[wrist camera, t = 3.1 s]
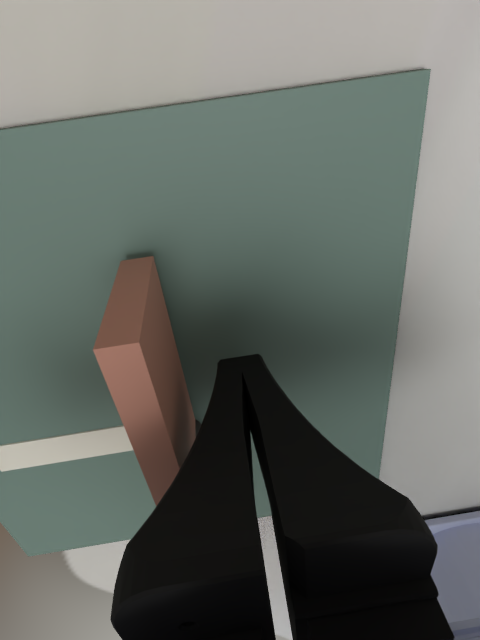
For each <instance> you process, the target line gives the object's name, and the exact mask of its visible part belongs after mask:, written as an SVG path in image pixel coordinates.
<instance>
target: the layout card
mask: <svg viewBox="0 0 480 640" xmlns="http://www.w3.org/2000/svg"><path fill="white" fill-rule="evenodd" d="M430 70H431V69H420V70H413V71H405V72H398V73H391V74H384V75H377V76H370V77H363V78H356V79H349V80H342V81H335V82H328V83H321V84H314V85H307V86H300V87H293V88H286V89H279V90H271V91H264V92H257V93H250V94H243V95H236V96H229V97H222V98H215V99H208V100H201V101H194V102H187V103H180V104H173V105H166V106H159V107H152V108H145V109H137V110H130V111H123V112H116V113H109V114H102V115H95V116H88V117H81V118H74V119H67V120H60V121H53V122H46V123H39V124H32V125H25V126H18V127H11V128H3V129H0V522H1V523H2V525H3V526H4V527H5V528H6V530H7V531H8V532H9V533H10V534H11V535H12V537H13V538H14V539H15V540H16V542H17V543H18V544H19V545H20V547H21V548H22V549H23V550H24V552H25V553H26V554H27V555H28V556H34V555H40V554H46V553H51V552H58V551H64V550H70V549H76V548H82V547H87V546H93V545H99V544H105V543H111V542H117V541H123V540H129V539H132V538H133V536H134V535H135V534H136V533H137V531H138V530H139V529H140V528H141V526H142V525H143V524H144V522H145V521H146V520H147V519H148V517H149V516H150V515H151V513H152V512H153V510H154V509H155V508H156V505H155V502H154V500H153V497H152V495H151V492H150V490H149V487H148V485H147V482H146V480H145V477H144V475H143V472H142V470H141V467H140V465H139V462H138V460H137V458H136V455H135V453H134V450H133V448H132V445H131V443H130V440H129V438H128V435H127V433H126V430H125V428H124V425H123V423H122V420H121V418H120V415H119V413H118V411H117V408H116V406H115V403H114V401H113V398H112V396H111V393H110V391H109V388H108V386H107V383H106V381H105V378H104V376H103V373H102V371H101V368H100V366H99V364H98V361H97V359H96V356H95V354H94V351H93V348H94V345H95V341H96V338H97V335H98V332H99V329H100V325H101V322H102V319H103V316H104V313H105V310H106V306H107V303H108V300H109V297H110V294H111V290H112V287H113V284H114V281H115V278H116V275H117V271H118V268H119V265H120V262H121V261H123V260H130V259H137V258H143V257H150V256H153V257H154V261H155V265H156V268H157V272H158V276H159V280H160V284H161V288H162V292H163V296H164V300H165V304H166V308H167V311H168V315H169V319H170V323H171V327H172V331H173V335H174V339H175V343H176V347H177V350H178V354H179V358H180V362H181V366H182V370H183V374H184V378H185V382H186V386H187V390H188V393H189V397H190V401H191V405H192V409H193V413H194V417H195V419H196V420H198V421H199V422H200V423H201V424H202V421H203V419H204V416H205V414H206V411H207V408H208V405H209V402H210V398H211V395H212V392H213V388H214V384H215V379H216V374H217V363H218V362H219V361H220V360H221V359H227V358H234V357H240V356H246V355H253V354H259V355H261V356H262V358H263V360H264V362H265V364H266V366H267V368H268V369H269V371H270V373H271V374H272V376H273V377H274V379H275V380H276V382H277V383H278V385H279V386H280V387H281V389H282V390H283V391H284V393H285V394H286V395H287V397H288V398H289V399H290V400H291V402H292V403H293V404H294V405H295V407H296V408H297V409H298V410H299V411H300V412H301V413H302V414H303V416H304V417H305V418H306V419H307V420H308V421H309V422H310V423H311V424H312V425H313V426H314V427H315V428H316V429H317V430H318V431H319V432H320V433H321V434H322V435H323V436H324V437H325V438H326V439H328V440H329V441H330V442H331V443H332V444H333V445H334V446H335V447H336V448H338V449H339V450H340V451H341V452H343V453H344V454H345V455H346V456H348V457H349V458H350V459H351V460H353V461H354V462H355V463H357V464H358V465H359V466H360V467H362V468H363V469H365V470H366V471H367V472H369V473H370V474H372V475H373V476H374V477H376V478H377V479H379V472H380V464H381V456H382V449H383V441H384V433H385V425H386V417H387V409H388V401H389V393H390V386H391V378H392V370H393V362H394V354H395V346H396V338H397V330H398V322H399V315H400V307H401V299H402V291H403V283H404V275H405V267H406V259H407V252H408V244H409V236H410V228H411V220H412V212H413V204H414V196H415V189H416V181H417V173H418V165H419V157H420V149H421V141H422V133H423V126H424V118H425V110H426V102H427V94H428V86H429V78H430ZM250 432H251V431H250ZM251 447H252V464H253V480H254V495H255V505H256V513H257V518H260V517H266V516H272V514H271V508H270V503H269V499H268V495H267V490H266V487H265V483H264V479H263V476H262V472H261V468H260V464H259V461H258V457H257V453H256V449H255V446H254V442H253V438H252V434H251Z"/></svg>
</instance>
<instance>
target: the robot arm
mask: <svg viewBox="0 0 480 640" xmlns="http://www.w3.org/2000/svg"><path fill="white" fill-rule="evenodd" d="M250 431H251V432H250ZM251 434H252V438H253V442H254V446H255V449H256V453H257V457H258V461H259V464H260V468H261V472H262V476H263V479H264V483H265V487H266V490H267V495H268V499H269V503H270V508H271V514H272V520H273V526H274V531H275V537H276V543H277V549H278V554H279V560H280V566H281V572H282V578H283V584H284V589H285V595H286V601H287V607H288V613H289V619H290V625H291V631H292V637H293V640H480V511H475V512H469V513H463V514H457V515H452V516H446V517H440V518H434V519H428V520H424V519H423V518H422V516H421V515H420V513H419V512H418V510H417V509H416V508H415V506H414V505H413V504H412V502H411V501H410V500H409V498H407V497H406V496H404V495H402V494H401V493H399V492H397V491H396V490H394V489H392V488H391V487H389V486H388V485H386V484H385V483H383V482H382V481H380V480H379V479H377V478H376V477H374V476H373V475H372V474H370V473H369V472H367V471H366V470H365V469H363V468H362V467H360V466H359V465H358V464H357V463H355V462H354V461H353V460H351V459H350V458H349V457H348V456H346V455H345V454H344V453H343V452H341V451H340V450H339V449H338V448H336V447H335V446H334V445H333V444H332V443H331V442H330V441H329V440H328V439H326V438H325V437H324V436H323V435H322V434H321V433H320V432H319V431H318V430H317V429H316V428H315V427H314V426H313V425H312V424H311V423H310V422H309V421H308V420H307V419H306V418H305V417H304V416H303V414H302V413H301V412H300V411H299V410H298V409H297V408H296V407H295V405H294V404H293V403H292V402H291V400H290V399H289V398H288V397H287V395H286V394H285V393H284V391H283V390H282V389H281V387H280V386H279V385H278V383H277V382H276V380H275V379H274V377H273V376H272V374H271V373H270V371H269V369H268V368H267V366H266V364H265V362H264V360H263V358H262V356H261V355H259V354H253V355H246V356H240V357H234V358H227V359H221V360H220V361H219V362H218V363H217V374H216V379H215V384H214V388H213V392H212V395H211V398H210V402H209V405H208V408H207V411H206V414H205V416H204V419H203V421H202V424H201V427H200V429H199V432H198V434H197V436H196V439H195V441H194V443H193V445H192V447H191V449H190V451H189V453H188V455H187V457H186V459H185V461H184V463H183V464H182V466H181V468H180V470H179V472H178V474H177V475H176V477H175V479H174V480H173V482H172V484H171V485H170V487H169V488H168V490H167V491H166V493H165V494H164V496H163V497H162V499H161V500H160V502H159V503H158V505H157V506H156V508H155V509H154V510H153V512H152V513H151V515H150V516H149V517H148V519H147V520H146V521H145V522H144V524H143V525H142V526H141V528H140V529H139V530H138V531H137V533H136V534H135V535H134V536H133V538H132V539H131V540H130V541H129V543H128V544H127V546H126V549H125V552H124V555H123V558H122V561H121V564H120V568H119V571H118V575H117V579H116V583H115V589H114V596H113V604H112V611H111V622H112V625H113V627H114V628H115V630H116V631H117V633H118V634H119V636H120V637H121V638H122V640H276V638H275V632H274V625H273V619H272V612H271V605H270V599H269V592H268V586H267V579H266V572H265V566H264V559H263V552H262V546H261V539H260V533H259V526H258V519H257V513H256V505H255V495H254V480H253V464H252V447H251Z"/></svg>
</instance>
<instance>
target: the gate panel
mask: <svg viewBox="0 0 480 640" xmlns="http://www.w3.org/2000/svg"><path fill="white" fill-rule="evenodd" d="M93 351H94V354H95V356H96V359H97V361H98V364H99V366H100V368H101V371H102V373H103V376H104V378H105V381H106V383H107V386H108V388H109V391H110V393H111V396H112V398H113V401H114V403H115V406H116V408H117V411H118V413H119V415H120V418H121V420H122V423H123V425H124V428H125V430H126V433H127V435H128V438H129V440H130V443H131V445H132V448H133V450H134V453H135V455H136V458H137V460H138V462H139V465H140V467H141V470H142V472H143V475H144V477H145V480H146V482H147V485H148V487H149V490H150V492H151V495H152V497H153V500H154V502H155V505H156V506H157V505H158V503H159V502H160V500H161V499H162V497H163V496H164V494H165V493H166V491H167V490H168V488H169V487H170V485H171V484H172V482H173V480H174V479H175V477H176V475H177V474H178V472H179V470H180V468H181V466H182V464H183V463H184V461H185V459H186V457H187V455H188V453H189V451H190V449H191V447H192V445H193V443H194V441H195V439H196V432H195V417H194V413H193V409H192V405H191V401H190V397H189V393H188V390H187V386H186V382H185V378H184V374H183V370H182V366H181V362H180V358H179V354H178V350H177V347H176V343H175V339H174V335H173V331H172V327H171V323H170V319H169V315H168V311H167V308H166V304H165V300H164V296H163V292H162V288H161V284H160V280H159V276H158V272H157V268H156V265H155V261H154V257H153V256H150V257H143V258H137V259H130V260H123V261H121V262H120V265H119V268H118V271H117V275H116V278H115V281H114V284H113V287H112V290H111V294H110V297H109V300H108V303H107V306H106V310H105V313H104V316H103V319H102V322H101V325H100V329H99V332H98V335H97V338H96V341H95V345H94V348H93Z"/></svg>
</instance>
